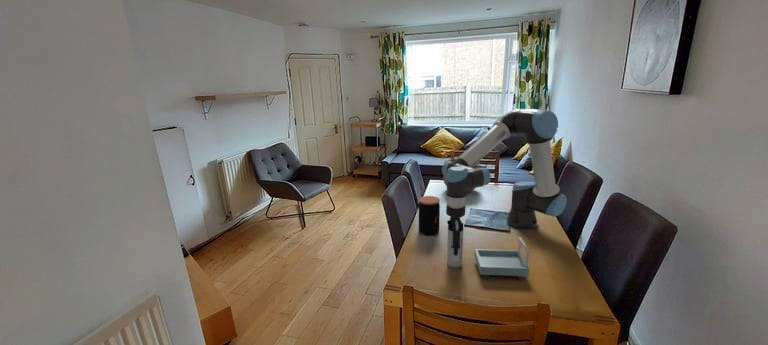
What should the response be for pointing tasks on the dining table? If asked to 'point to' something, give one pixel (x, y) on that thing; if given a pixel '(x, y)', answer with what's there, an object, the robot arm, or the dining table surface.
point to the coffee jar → (429, 215)
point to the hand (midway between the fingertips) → (454, 256)
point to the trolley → (503, 262)
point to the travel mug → (450, 243)
